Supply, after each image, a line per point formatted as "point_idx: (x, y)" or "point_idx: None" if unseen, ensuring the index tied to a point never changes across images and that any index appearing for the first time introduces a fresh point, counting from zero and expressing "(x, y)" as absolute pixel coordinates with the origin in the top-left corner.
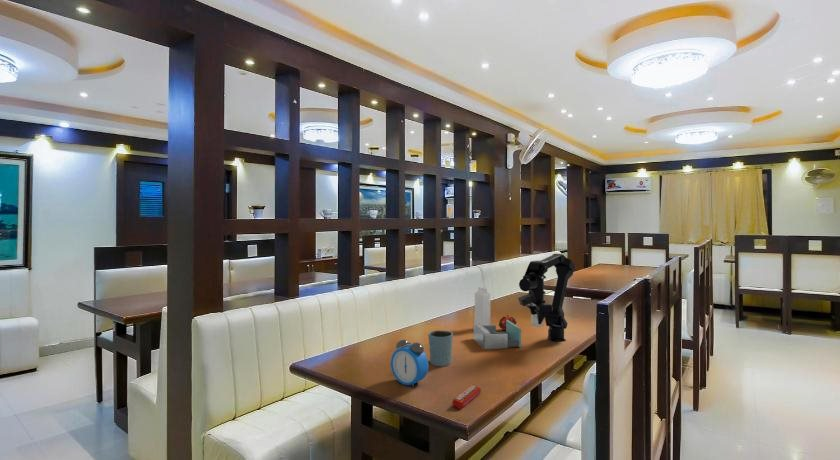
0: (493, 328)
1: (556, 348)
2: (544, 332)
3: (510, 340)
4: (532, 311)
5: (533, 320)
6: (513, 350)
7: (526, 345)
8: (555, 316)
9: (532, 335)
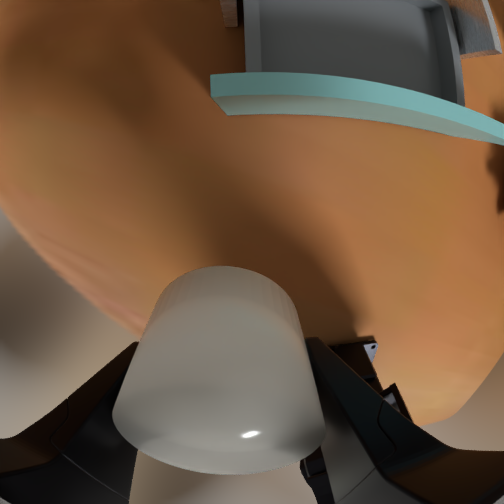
0: (475, 36)
1: None
2: (437, 343)
3: (250, 35)
4: (361, 458)
5: (159, 325)
6: (173, 52)
7: (272, 172)
8: (321, 478)
9: (433, 284)
